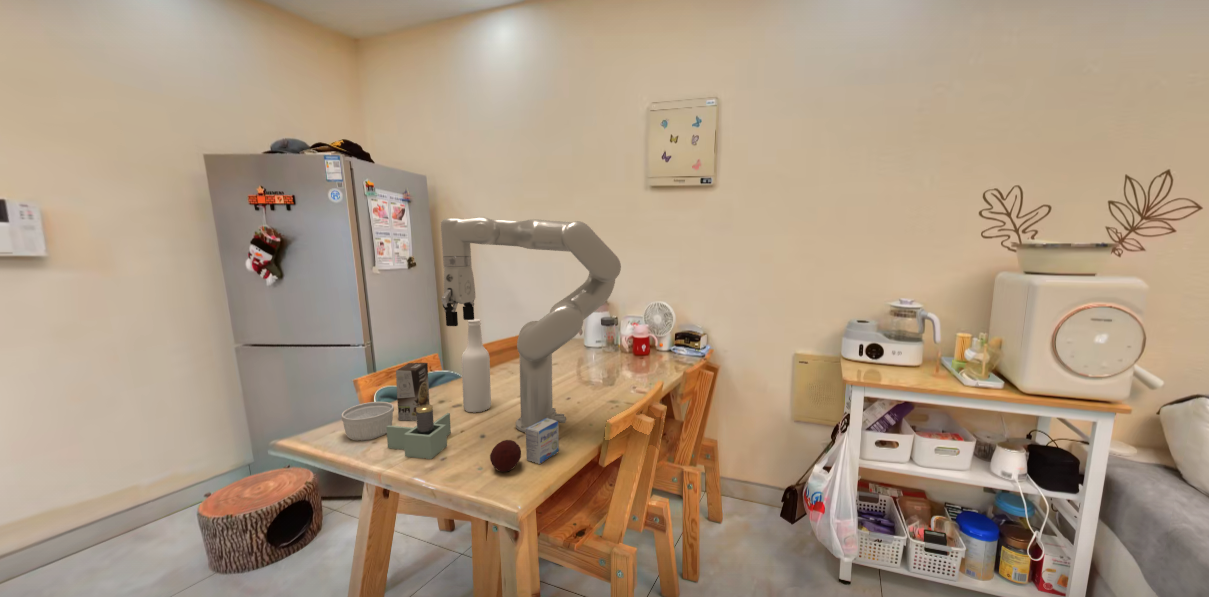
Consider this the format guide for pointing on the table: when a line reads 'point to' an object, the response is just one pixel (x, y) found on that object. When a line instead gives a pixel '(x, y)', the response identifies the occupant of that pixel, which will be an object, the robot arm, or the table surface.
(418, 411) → the cylindrical canister
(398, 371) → the coffee box
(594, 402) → the table surface
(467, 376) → the alcohol
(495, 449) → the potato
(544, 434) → the medicine box
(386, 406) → the ramekin
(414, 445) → the grey-green frame piece
